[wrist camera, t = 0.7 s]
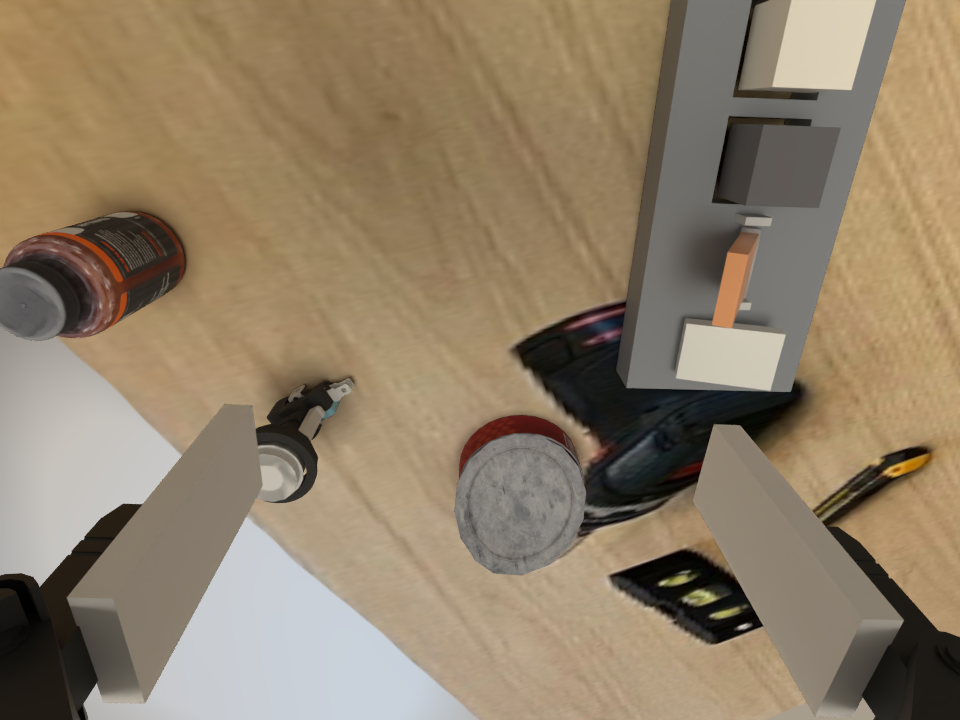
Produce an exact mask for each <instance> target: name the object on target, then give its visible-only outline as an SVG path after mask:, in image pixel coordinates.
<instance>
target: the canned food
mask: <svg viewBox="0 0 960 720" xmlns="http://www.w3.org/2000/svg"><path fill="white" fill-rule="evenodd" d="M459 465H460V467H459V481H458V483H457V491H456V501H455V509H454V512H455V516H456V520H457V524H458V528H459V532H460V537H461V539H462V541H463V542H464V544H465V545H466V547H467V548H468V550H469V551H470V553H471V554H472V556H473V558H474V559H475V561H477V562H478V563H480V564H481V565H483V566H484V567H486V568H487V569H488V570H490V571H491V572H493V573H496V574H510V575H524V574H526V573H529V572H531V571H534V570H536V569H539V568H542V567H544V566H547V565H549V564H550V563H551V562H553V561H554V560H555V559H556V558H557V557H558V556H559V555H560V554H561V553H562V552H563V551H564V550H565V549H566V548H567V547H569V546H570V545H571V543H572V541H573V539H574V536H575V534H576V532H577V530H578V528H579V526H580V525H581V523H582V521H583V518H584V505H585V497H586V490H585V487H584V477H583V473H582V468H581V466H580V463H579V460H578V457H577V454H576V451H575V448H574V446H573V444H572V442H571V440H570V438H569V437H568V436H567V435H566V433H565V432H564V431H563V430H561V429H560V428H559V427H558V426H556V425H555V424H553V423H551V422H549V421H547V420H545V419H541V418H538V417H535V416H527V415H514V416H508V417H503V418H499V419H497V420H494V421H492V422H489V423H488V424H486V425H484V426H483V427H481V428H480V429H478V430H477V431H476V432H475V433H474V434H473V435H472V436H471V437H470V439H469V440H468V442H467V443H466V445H465V446H464V449H463V451H462V454H461V458H460V464H459Z"/></svg>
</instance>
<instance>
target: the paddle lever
mask: <svg viewBox="0 0 960 720" xmlns="http://www.w3.org/2000/svg"><path fill="white" fill-rule="evenodd" d="M762 230H763V229H762V228H758V227H751V226H743V227H741V232H740V235H739V236H738V238H737V239H736V241H735V242H734V244H733V245H732V247H731V248H730V250H729V251H728V253H727V258H726V262H725V267H724V272H723V276H722V281H721V285H720V290H719V294H718V299H717V304H716V308H715V313H714V317H713V322H712V325H715V326H720V327H726V328H732V326H733V323H734V321H735V319H736V316H737V314H738V311H739V309H740V306H741V304H742V301H743V299H744V298H746V296H747V292H748V288H749V284H750V280H751V275H752V271H753V267H754V263H755V259H756V255H757V250H758V246H759V242H760V238H761V234H762Z"/></svg>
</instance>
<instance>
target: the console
mask: <svg viewBox="0 0 960 720" xmlns="http://www.w3.org/2000/svg"><path fill="white" fill-rule="evenodd" d="M766 1H769V0H671V6H670V13H669V19H668V26H667V33H666V39H665V46H664V53H663V60H662V66H661V73H660V80H659V87H658V93H657V100H656V107H655V113H654V120H653V127H652V134H651V140H650V147H649V154H648V161H647V167H646V174H645V181H644V187H643V194H642V201H641V208H640V214H639V221H638V228H637V234H636V241H635V248H634V255H633V261H632V268H631V275H630V282H629V288H628V295H627V302H626V308H625V315H624V322H623V329H622V335H621V342H620V349H619V356H618V362H617V369H616V371H617V372H618V374H619V376H620V378H621V379H622V381H623V383H624V385H625V386H626V388H652V389H694V390H736V391H768V390H760V389H753V388H745V387H737V386H730V385H722V384H714V383H707V382H699V381H691V380H684V379H676V376H675V367H676V362H677V357H678V352H679V347H680V342H681V336H682V331H683V326H684V321H685V318H691V319H700V320H710V321H713V317H714V313H715V308H716V304H717V299H718V294H719V290H720V285H721V281H722V276H723V272H724V267H725V262H726V258H727V253H728V251H729V250H730V248H731V247H732V245H733V244H734V242H735V241H736V239H737V238H738V236H739V235H740V232H741V227H743V226H751V227H758V228H762V229H763V230H762V234H761V238H760V242H759V246H758V250H757V255H756V259H755V263H754V267H753V271H752V275H751V280H750V284H749V288H748V292H747V296H746V298H744V299H743V301H742V304H741V306H740V309H739V311H738V314H737V316H736V319H735V321H734V323H737V324H747V325H756V326H765V327H774V328H781V329H782V330H783V331H784V333H785V334H786V336H785V340H784V343H783V347H782V350H781V354H780V358H779V361H778V365H777V368H776V372H775V376H774V379H773V383H772V386H771V390H770V391H778V392H791V389H792V385H793V382H794V378H795V375H796V372H797V368H798V365H799V361H800V358H801V355H802V351H803V348H804V345H805V341H806V338H807V334H808V331H809V328H810V324H811V321H812V317H813V314H814V311H815V307H816V304H817V300H818V297H819V294H820V290H821V287H822V283H823V280H824V277H825V273H826V270H827V266H828V263H829V260H830V256H831V253H832V249H833V246H834V243H835V239H836V236H837V233H838V229H839V226H840V222H841V219H842V216H843V212H844V209H845V205H846V202H847V199H848V195H849V192H850V188H851V185H852V182H853V178H854V175H855V171H856V168H857V165H858V161H859V158H860V154H861V151H862V148H863V144H864V141H865V138H866V134H867V131H868V127H869V124H870V121H871V117H872V114H873V110H874V107H875V104H876V100H877V97H878V93H879V90H880V87H881V83H882V80H883V76H884V73H885V70H886V66H887V63H888V59H889V56H890V53H891V49H892V46H893V42H894V39H895V36H896V32H897V29H898V26H899V22H900V19H901V15H902V12H903V9H904V5H905V2H906V0H876V3H875V7H874V10H873V14H872V17H871V21H870V25H869V28H868V32H867V35H866V39H865V43H864V46H863V50H862V54H861V57H860V61H859V64H858V68H857V72H856V75H855V79H854V83H853V86H852V90H845V91H830V92H815V93H798V92H792V95H791V99H765V98H740V97H733V93H734V88H735V83H736V78H737V73H738V68H739V63H740V58H741V53H742V48H743V43H744V38H745V33H746V27H747V22H748V17H749V12H750V7H755V6H756V5H758V4H761V3H764V2H766ZM729 117H749V118H775V119H786V120H785V124H784V125H788V126H814V127H840V128H841V130H840V133H839V137H838V140H837V144H836V148H835V151H834V155H833V159H832V162H831V166H830V169H829V173H828V177H827V180H826V184H825V188H824V191H823V195H822V198H821V202H820V206H819V208H800V207H770V206H745V205H742V204H739V203H736V202H733V201H730V200H727V199H724V198H713V193H714V188H715V183H716V178H717V173H718V168H719V163H720V158H721V153H722V148H723V143H724V138H725V133H726V128H727V123H728V118H729Z"/></svg>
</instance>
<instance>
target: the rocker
mask: <svg viewBox="0 0 960 720" xmlns="http://www.w3.org/2000/svg"><path fill="white" fill-rule="evenodd" d="M712 322H713V321H710V320H700V319H691V318H685V321H684V326H683V331H682V336H681V342H680V347H679V352H678V357H677V362H676V367H675V376H676V379H684V380H691V381H699V382H707V383H714V384H722V385H730V386H737V387H745V388H753V389H760V390H768V391H770V390H771V386H772V383H773V379H774V376H775V372H776V368H777V365H778V361H779V358H780V354H781V350H782V347H783V343H784V340H785V336H786V334H785V333H784V331H783V330H782V329H781V328H774V327H765V326H756V325H747V324H737V323H733V326H732V328H726V327H720V326H715V325H712Z"/></svg>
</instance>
